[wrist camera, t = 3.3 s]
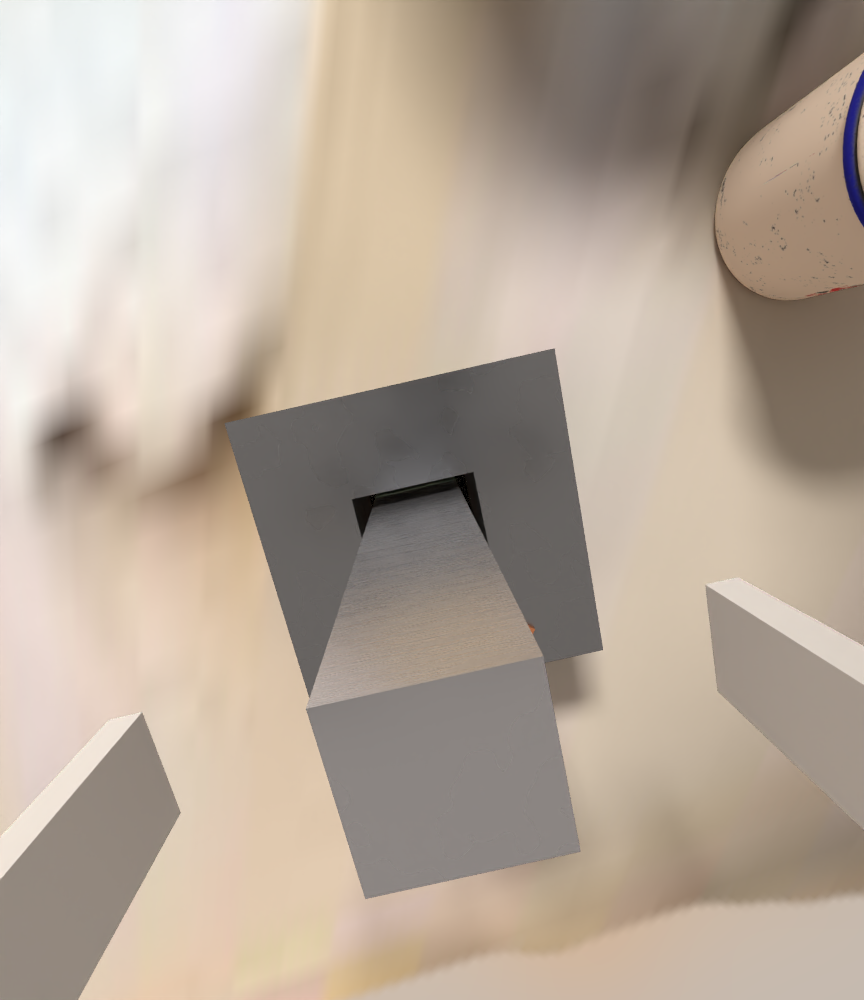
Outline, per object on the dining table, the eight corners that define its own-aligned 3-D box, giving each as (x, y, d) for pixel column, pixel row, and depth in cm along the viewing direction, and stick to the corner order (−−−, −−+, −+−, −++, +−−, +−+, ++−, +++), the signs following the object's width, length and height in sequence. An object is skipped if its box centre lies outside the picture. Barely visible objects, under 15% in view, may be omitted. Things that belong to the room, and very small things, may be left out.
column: (379, 485, 28) (305, 708, 8) (450, 469, 28) (544, 654, 8) (398, 564, 29) (373, 928, 9) (467, 549, 29) (587, 881, 9)
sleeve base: (265, 416, 27) (209, 426, 19) (522, 357, 27) (566, 345, 19) (333, 650, 30) (307, 736, 22) (565, 598, 30) (616, 668, 22)
